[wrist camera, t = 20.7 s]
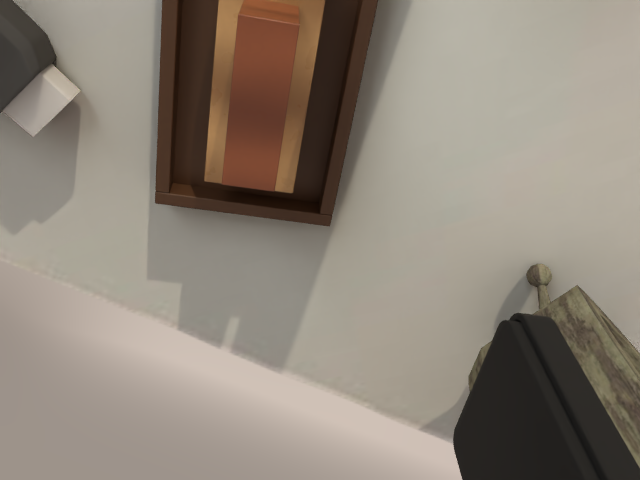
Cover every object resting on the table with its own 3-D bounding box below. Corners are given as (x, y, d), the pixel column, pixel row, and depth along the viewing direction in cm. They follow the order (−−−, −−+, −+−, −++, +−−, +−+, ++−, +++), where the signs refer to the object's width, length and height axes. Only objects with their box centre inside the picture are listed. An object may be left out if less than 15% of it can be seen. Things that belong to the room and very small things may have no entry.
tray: (328, 210, 38) (329, 227, 37) (161, 187, 37) (154, 203, 35) (392, -98, 29) (398, -96, 28) (175, -143, 28) (167, -143, 26)
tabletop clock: (642, 349, 46) (940, 760, 25) (542, 408, 49) (731, 818, 28) (541, 236, 40) (819, 646, 19) (435, 310, 43) (571, 736, 22)
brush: (228, -61, 30) (212, -44, 24) (328, -43, 30) (336, -22, 24) (210, 159, 36) (193, 217, 30) (292, 171, 36) (292, 229, 30)
